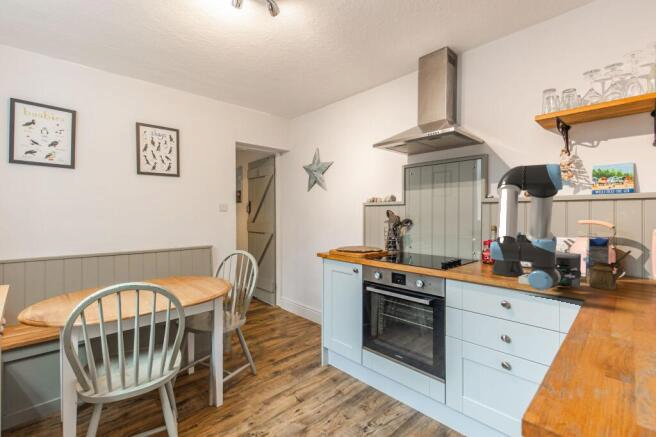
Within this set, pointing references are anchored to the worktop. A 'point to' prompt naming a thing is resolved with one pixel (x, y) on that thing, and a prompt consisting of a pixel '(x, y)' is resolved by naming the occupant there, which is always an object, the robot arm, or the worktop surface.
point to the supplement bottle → (564, 265)
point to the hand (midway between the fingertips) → (565, 269)
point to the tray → (524, 279)
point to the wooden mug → (606, 274)
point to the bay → (571, 263)
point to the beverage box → (595, 254)
